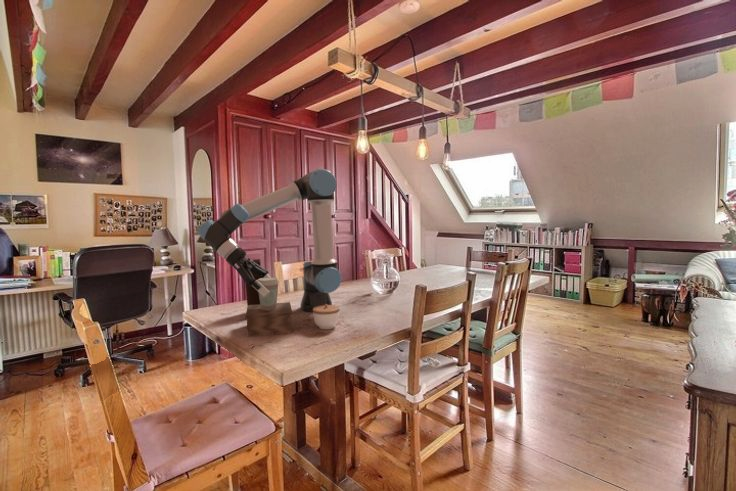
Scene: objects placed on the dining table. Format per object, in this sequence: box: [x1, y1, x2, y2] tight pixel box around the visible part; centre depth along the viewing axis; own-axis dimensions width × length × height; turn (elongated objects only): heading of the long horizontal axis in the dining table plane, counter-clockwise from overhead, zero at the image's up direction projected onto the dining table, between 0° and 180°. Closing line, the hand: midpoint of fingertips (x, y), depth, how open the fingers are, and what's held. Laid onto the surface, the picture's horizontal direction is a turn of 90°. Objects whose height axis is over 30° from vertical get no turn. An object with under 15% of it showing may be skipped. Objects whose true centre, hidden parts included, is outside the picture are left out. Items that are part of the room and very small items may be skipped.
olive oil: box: [244, 258, 262, 307], centre depth 165 cm, size 11×11×25 cm
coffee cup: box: [258, 276, 280, 311], centre depth 141 cm, size 8×8×12 cm
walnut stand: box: [244, 301, 293, 338], centre depth 142 cm, size 17×17×8 cm
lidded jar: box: [312, 304, 341, 330], centre depth 143 cm, size 11×11×9 cm
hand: (271, 290), depth 141 cm, fingers open, 13 cm apart
